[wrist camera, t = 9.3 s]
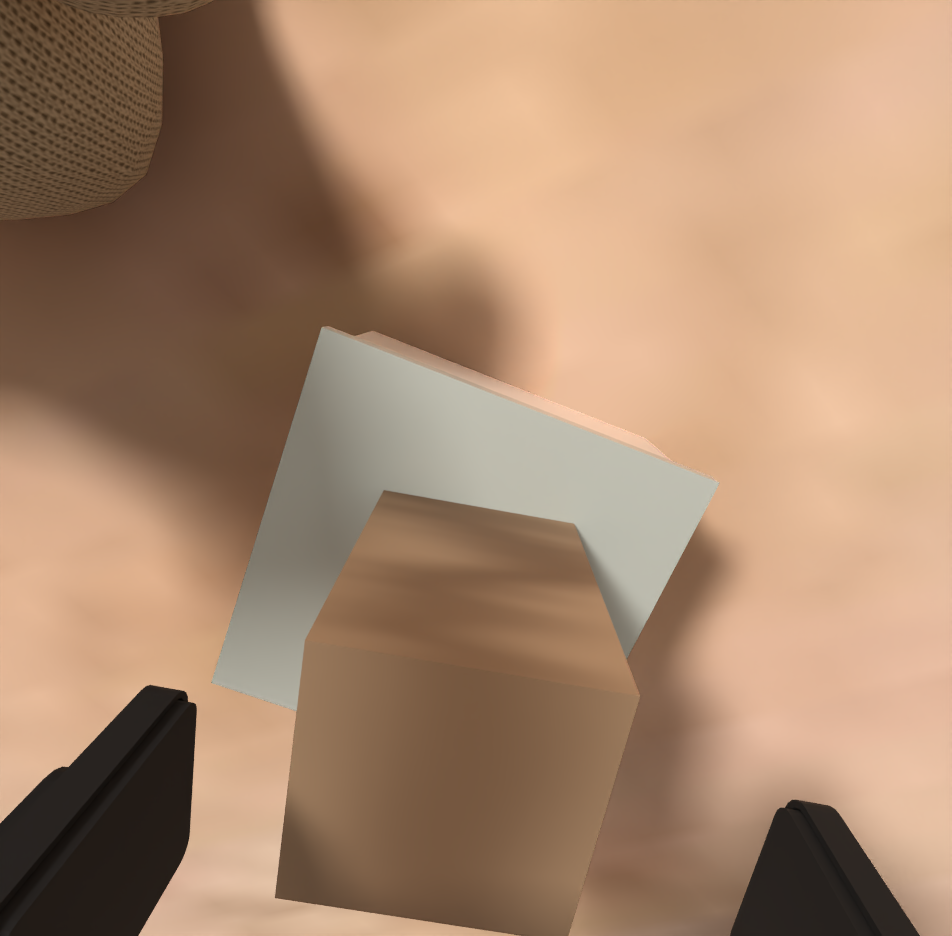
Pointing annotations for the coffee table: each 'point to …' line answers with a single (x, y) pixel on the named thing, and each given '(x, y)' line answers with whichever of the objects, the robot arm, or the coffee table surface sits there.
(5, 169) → the grey cat statue
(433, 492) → the pale grey box
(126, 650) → the coffee table surface
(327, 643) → the walnut block
